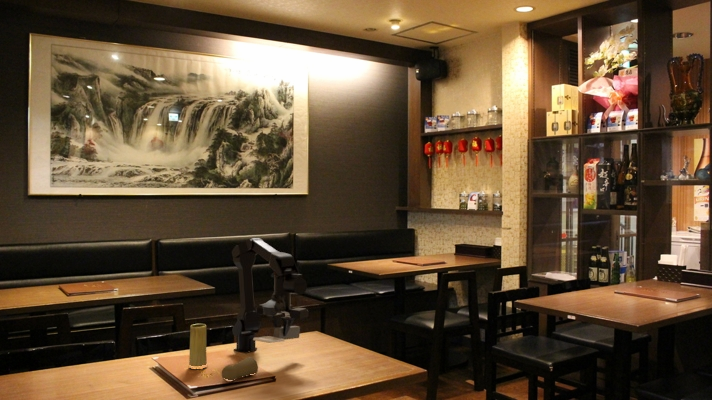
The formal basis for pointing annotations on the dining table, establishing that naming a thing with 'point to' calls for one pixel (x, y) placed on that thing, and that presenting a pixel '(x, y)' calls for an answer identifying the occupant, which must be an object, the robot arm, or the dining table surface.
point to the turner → (280, 335)
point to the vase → (198, 345)
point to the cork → (240, 369)
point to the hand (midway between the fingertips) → (281, 335)
